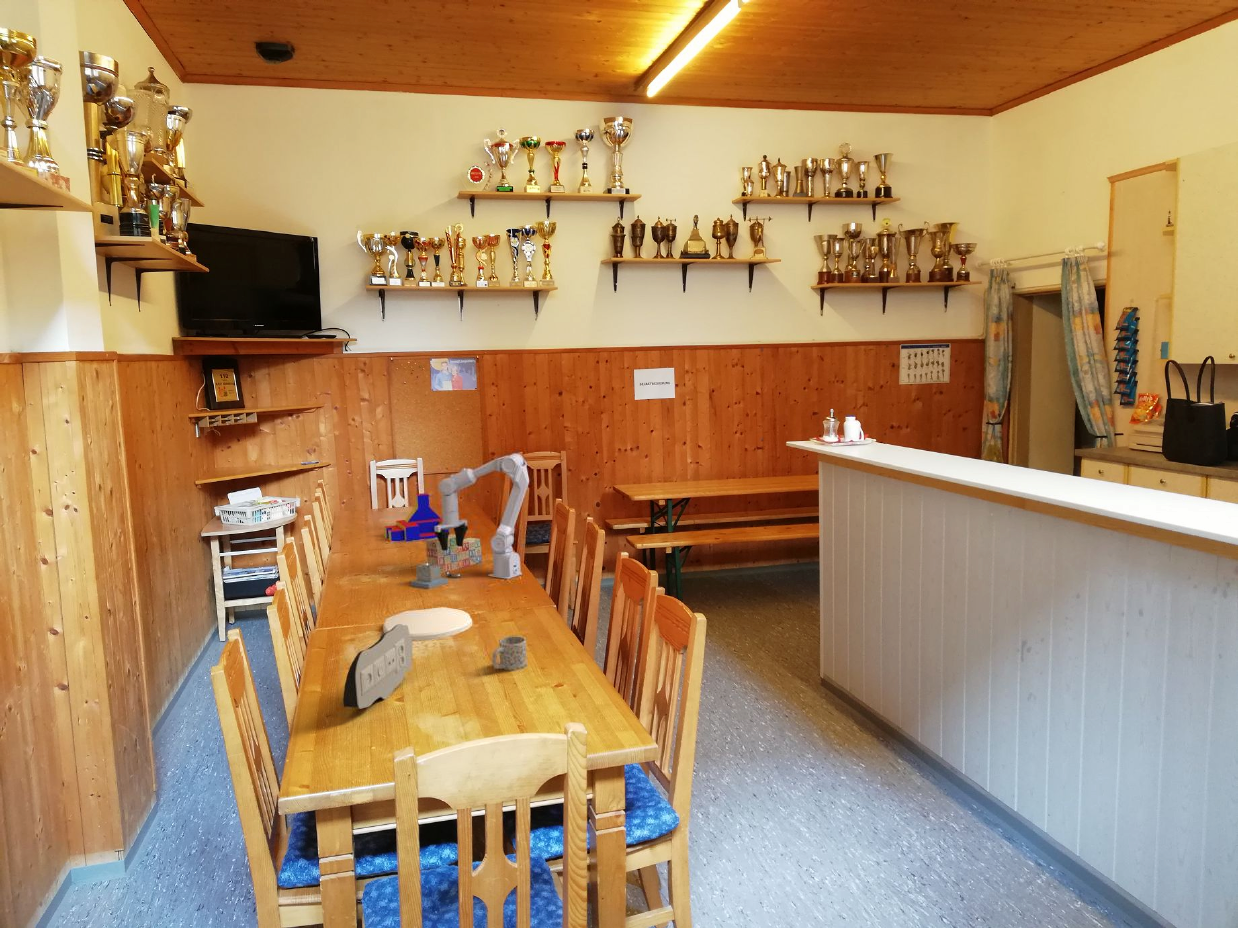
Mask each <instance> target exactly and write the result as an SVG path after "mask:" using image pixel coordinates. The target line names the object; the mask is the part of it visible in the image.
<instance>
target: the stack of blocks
mask: <svg viewBox="0 0 1238 928" xmlns="http://www.w3.org/2000/svg"><path fill="white" fill-rule="evenodd" d="M481 542H482V541H481V538H477V537H476V538H475V537H468V538H464V540H463V545H462V546H457V543H456V535H455V533H451V534H450V533H449V536H448V549H447V550H446V551H445V550H442V548H441V545H440V542H439V540H438V538H432V539H425V543H426V551H425V552H426V559H427V560H426V563H429V564H437V565H439V566H440V573H441V574H444V573H446V572H451V571H455V569H456V570H458V569H463V568H465V567H469V566H473V565H477V564H481V563H482V562H483V561H482V543H481ZM476 563H477V564H476ZM468 565H469V566H468ZM462 567H463V568H462Z"/></svg>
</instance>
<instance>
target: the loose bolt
mask: <svg viewBox="0 0 1238 928" xmlns="http://www.w3.org/2000/svg"><path fill="white" fill-rule="evenodd" d="M445 578H460V579H461V578H462V574H461V573H451V571H448V572H445Z"/></svg>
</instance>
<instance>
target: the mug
mask: <svg viewBox="0 0 1238 928" xmlns="http://www.w3.org/2000/svg"><path fill="white" fill-rule="evenodd" d="M498 645H499V647H498V648H496V649H495V650H494V651H493V653H492V665H493V668H494V669H495V670H500V669H502V670H503V671H511V672H512V671H513V672H514V671H520V670H523V669H525V668H526V667H528V666H527V665H528V661H527V658H528V656H527V641H526V638H525V637H524V636H517V635H511V636H506V637H502V638H501V639H499V641H498ZM498 655H499V663H498Z"/></svg>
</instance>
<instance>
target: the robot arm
mask: <svg viewBox="0 0 1238 928" xmlns="http://www.w3.org/2000/svg"><path fill="white" fill-rule="evenodd" d="M527 466H528V465H527V461H526V460H525V458H524V457H523V456H522V455H521V454H520V453H518V452H516V453H515V452H514V453H511V454H509V455H504V456H502V457H499V458H495V459H493V460H491V461H489V462H487V463H484V464H483V465H481V466H479V467H477V468H475V469H471V468H464V467H463V469H461V470H460V472H457V473H455V474H453V473H452V474H451V475H449V477H447V478H444V479H443V480H441V481H440V482H439V484H438V490H439V492H440V493H441V494H440V495H441V509H442V510H441V511H442V512H441V513H442V519H443V522H442V524H440V525H438V526H434V527H435V535H436V536H437V538H438V540H439V542H440V545H441V548H442V550H445V551H446V550H447V549H448V536H449V535H450V531H449V532H446V531H445V530H447V529H449V530H451V529H453V531H454V535H456V543H457V546H462V545H463V540H464V539H465V537H466V536H465V535H466V534H467V532H468V530H469V527H468V519H460V518H459V517H460V515H459V514H460V513H459V498H458V491H461V490H462V489H465V488H467V487H469V486H471V485H473V484H475V483H476V482H477V478H479V477H481V476H485V475H487V474H489V473H491V472H494V471H496V472H503V473H504V474H506V475H507V476H508V477H509V478H510V480H511V482H512V483H513V484H512V485H513V486H512V488H511V491H510V494H509V497H508V499H507V500H508V501H507V504H506V505H505V506H506V507H505V509H504V512H503V515H502V519H501V521H500V524H499V526H498V528H497V530H496V532H495V534H494V535H493V537H491V539H490V542H489V544H490V548H491V549H492V569H493V572H491V573H489V574H488V575H487V576H488V577H491V578H492V577H493V578H498V579H499V578H500V579H505V580H509V579H513V578H515V577H518V576H520V575H523V573H522V571H521V558H520V555H519V553H517V552H515V551H514V550H513V546H512V545H513V544H514V541H515V537H514V534H515V525H516V522H517V520H518V516H519V513H520V510H521V507H522V504H523V502H524V498H525V496H526V493H527V491H528V486H529V484H530V478H529V474H528V473H529V471H528V468H527Z"/></svg>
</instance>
